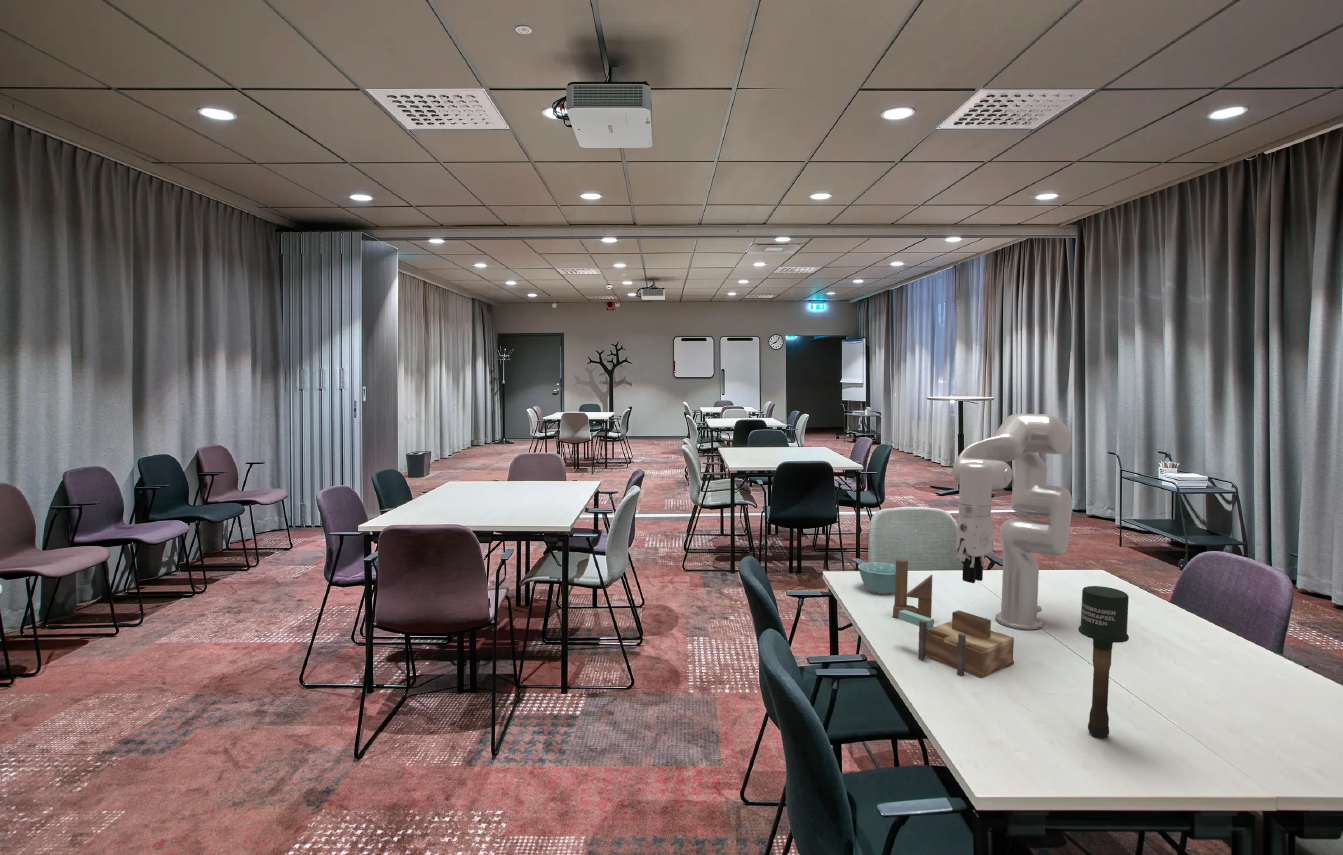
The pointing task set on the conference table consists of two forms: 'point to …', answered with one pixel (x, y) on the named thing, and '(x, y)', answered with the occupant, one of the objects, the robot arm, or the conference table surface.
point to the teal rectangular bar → (915, 618)
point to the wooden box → (963, 654)
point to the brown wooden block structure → (911, 592)
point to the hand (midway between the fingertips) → (972, 580)
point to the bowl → (878, 577)
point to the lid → (971, 632)
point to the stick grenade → (1102, 645)
